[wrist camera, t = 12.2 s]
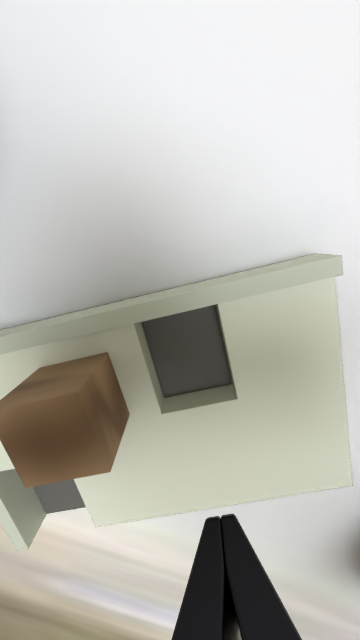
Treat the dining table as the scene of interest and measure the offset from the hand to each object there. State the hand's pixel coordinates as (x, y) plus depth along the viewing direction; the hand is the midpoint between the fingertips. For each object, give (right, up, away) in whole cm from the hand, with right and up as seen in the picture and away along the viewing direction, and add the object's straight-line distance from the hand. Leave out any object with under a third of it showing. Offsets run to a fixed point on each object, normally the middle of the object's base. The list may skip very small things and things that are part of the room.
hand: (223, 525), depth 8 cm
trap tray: (-3, -1, +12) cm, 12 cm away
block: (-7, +1, +9) cm, 12 cm away
